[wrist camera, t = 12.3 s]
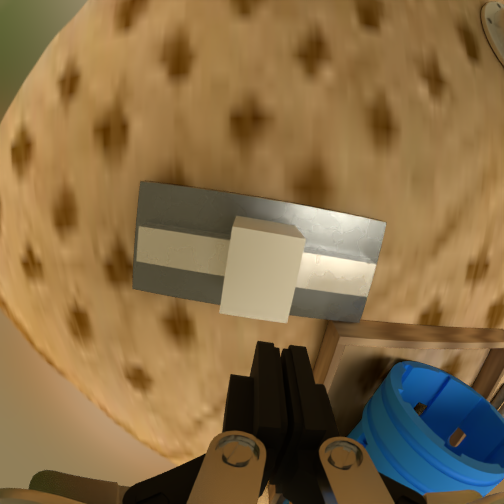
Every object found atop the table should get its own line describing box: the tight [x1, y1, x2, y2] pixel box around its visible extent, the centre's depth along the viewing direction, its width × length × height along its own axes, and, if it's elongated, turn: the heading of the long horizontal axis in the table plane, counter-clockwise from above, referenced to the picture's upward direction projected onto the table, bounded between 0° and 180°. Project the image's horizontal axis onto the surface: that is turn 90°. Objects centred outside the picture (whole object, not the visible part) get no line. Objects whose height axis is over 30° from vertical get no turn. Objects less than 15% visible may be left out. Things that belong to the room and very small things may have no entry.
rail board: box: [133, 181, 386, 323], centre depth 26 cm, size 22×10×3 cm, turn 81°
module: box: [219, 216, 306, 323], centre depth 24 cm, size 5×6×5 cm
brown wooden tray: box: [268, 320, 504, 504], centre depth 32 cm, size 28×32×4 cm
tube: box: [283, 361, 504, 504], centre depth 25 cm, size 25×22×19 cm
